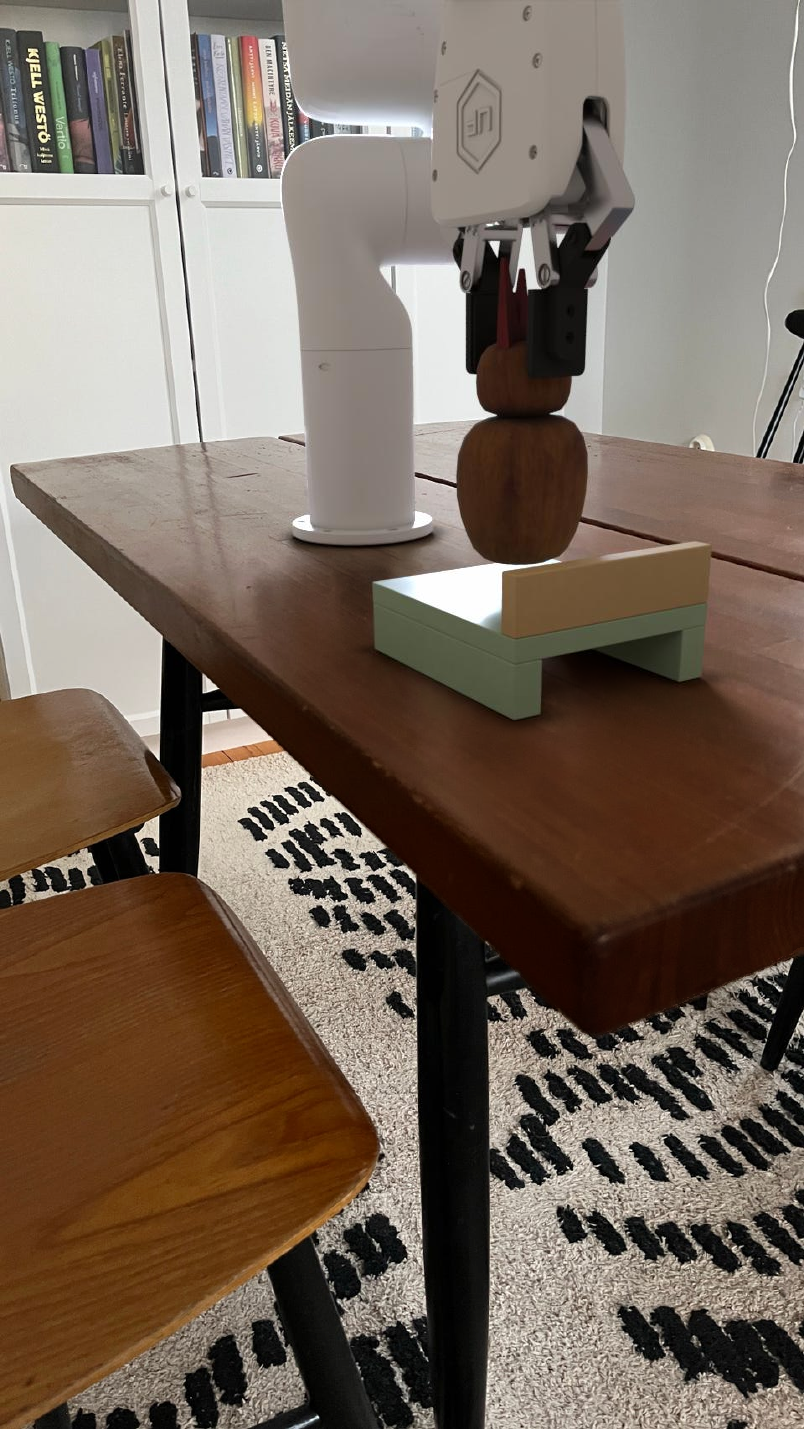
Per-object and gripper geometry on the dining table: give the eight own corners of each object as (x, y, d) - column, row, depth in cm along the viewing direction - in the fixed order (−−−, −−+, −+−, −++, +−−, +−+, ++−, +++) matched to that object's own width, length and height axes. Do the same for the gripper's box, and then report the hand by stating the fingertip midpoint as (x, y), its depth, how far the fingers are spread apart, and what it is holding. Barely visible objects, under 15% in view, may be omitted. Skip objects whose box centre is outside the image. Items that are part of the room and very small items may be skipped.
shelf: (374, 649, 61) (370, 529, 59) (541, 618, 67) (544, 507, 64) (513, 721, 50) (516, 575, 47) (701, 677, 55) (712, 544, 53)
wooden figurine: (496, 577, 53) (499, 254, 48) (440, 556, 58) (437, 261, 53) (604, 561, 56) (618, 255, 51) (542, 543, 61) (549, 262, 56)
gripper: (369, -10, 53) (379, 373, 59) (584, -133, 39) (567, 385, 45) (494, 7, 56) (491, 367, 63) (732, -100, 42) (697, 377, 49)
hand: (523, 371), depth 54 cm, fingers closed on wooden figurine, 4 cm apart
